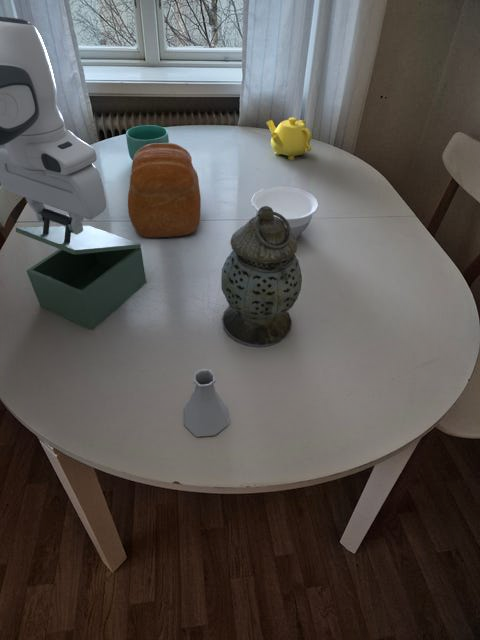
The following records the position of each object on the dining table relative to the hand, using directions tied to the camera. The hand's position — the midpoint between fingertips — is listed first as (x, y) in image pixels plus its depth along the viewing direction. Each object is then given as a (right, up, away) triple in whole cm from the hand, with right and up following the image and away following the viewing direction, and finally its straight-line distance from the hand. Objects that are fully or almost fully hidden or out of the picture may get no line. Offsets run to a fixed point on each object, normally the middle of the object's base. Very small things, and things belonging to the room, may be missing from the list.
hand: (60, 226), depth 74 cm
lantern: (+34, -17, +9) cm, 39 cm away
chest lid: (+2, -1, +6) cm, 6 cm away
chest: (+1, -11, +14) cm, 18 cm away
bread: (+12, +10, +37) cm, 41 cm away
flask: (+26, -32, -7) cm, 41 cm away
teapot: (+46, +39, +69) cm, 92 cm away
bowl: (+41, +5, +33) cm, 53 cm away
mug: (+3, +32, +60) cm, 68 cm away
